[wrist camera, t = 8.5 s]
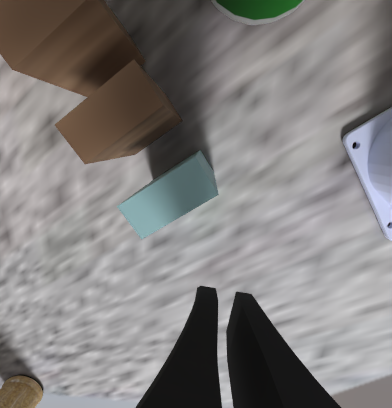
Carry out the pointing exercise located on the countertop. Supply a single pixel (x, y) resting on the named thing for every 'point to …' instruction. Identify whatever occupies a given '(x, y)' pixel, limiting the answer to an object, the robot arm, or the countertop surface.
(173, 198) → the loose domino
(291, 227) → the countertop surface
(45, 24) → the domino
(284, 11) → the soda can
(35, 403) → the sprinkles bottle
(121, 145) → the domino
